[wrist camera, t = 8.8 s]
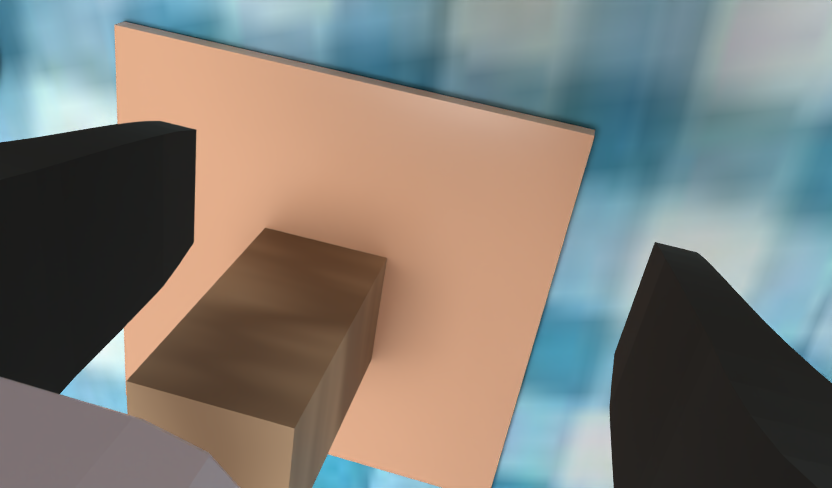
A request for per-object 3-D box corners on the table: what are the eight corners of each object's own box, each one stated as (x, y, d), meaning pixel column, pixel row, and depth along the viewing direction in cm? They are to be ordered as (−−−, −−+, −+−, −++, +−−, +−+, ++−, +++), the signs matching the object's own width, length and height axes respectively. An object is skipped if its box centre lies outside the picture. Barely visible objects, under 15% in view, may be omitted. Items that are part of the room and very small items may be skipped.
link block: (387, 257, 24) (294, 428, 17) (371, 359, 26) (282, 550, 19) (265, 227, 24) (125, 381, 17) (258, 330, 26) (131, 505, 19)
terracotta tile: (594, 130, 21) (594, 135, 20) (489, 490, 28) (487, 500, 27) (124, 21, 23) (114, 24, 22) (133, 386, 29) (126, 395, 29)
